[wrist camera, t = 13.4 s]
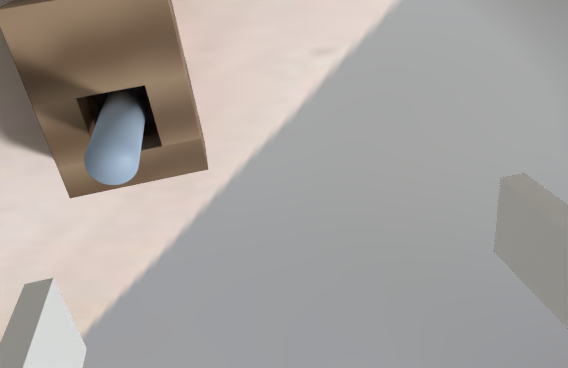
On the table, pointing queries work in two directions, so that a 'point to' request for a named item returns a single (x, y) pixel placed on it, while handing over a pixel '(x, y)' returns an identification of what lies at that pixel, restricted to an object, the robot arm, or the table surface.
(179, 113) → the socket block
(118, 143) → the dowel
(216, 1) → the table surface
